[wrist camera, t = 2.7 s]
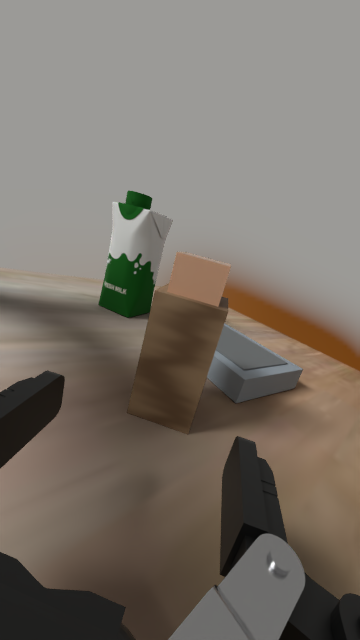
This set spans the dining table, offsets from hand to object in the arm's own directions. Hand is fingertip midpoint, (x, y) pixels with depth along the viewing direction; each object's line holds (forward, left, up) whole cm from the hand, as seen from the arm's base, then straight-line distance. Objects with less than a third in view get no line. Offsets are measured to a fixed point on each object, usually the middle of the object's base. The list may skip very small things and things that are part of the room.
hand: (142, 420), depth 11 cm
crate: (-8, +8, -7) cm, 13 cm away
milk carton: (-35, +15, -7) cm, 39 cm away
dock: (-14, +22, -7) cm, 27 cm away
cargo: (-8, +8, +4) cm, 12 cm away
